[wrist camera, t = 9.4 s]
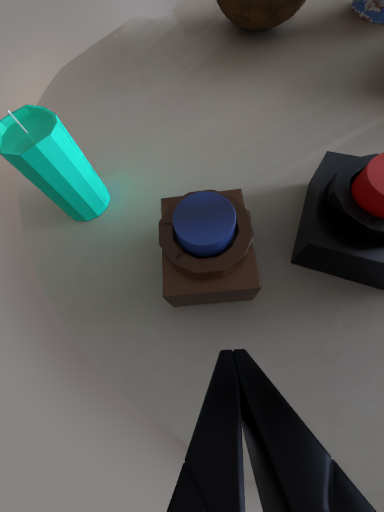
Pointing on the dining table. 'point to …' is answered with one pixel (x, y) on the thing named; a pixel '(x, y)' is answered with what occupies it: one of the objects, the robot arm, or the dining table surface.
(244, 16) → the bowl
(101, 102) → the dining table surface
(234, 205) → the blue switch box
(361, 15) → the lantern
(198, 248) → the blue button
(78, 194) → the candle
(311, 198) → the switch box
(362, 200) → the light button
